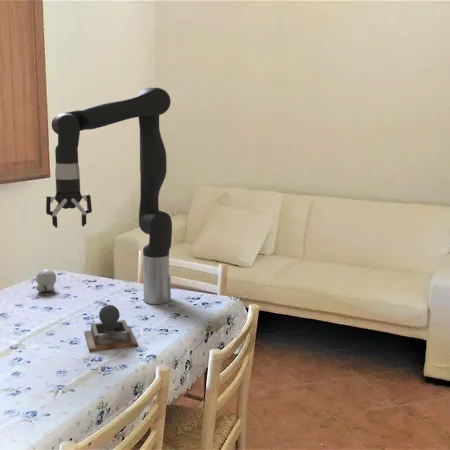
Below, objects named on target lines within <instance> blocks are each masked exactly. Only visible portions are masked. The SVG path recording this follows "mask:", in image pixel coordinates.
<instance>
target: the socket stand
mask: <svg viewBox="0 0 450 450" xmlns="http://www.w3.org/2000/svg"><path fill="white" fill-rule="evenodd" d="M83 333H84V337H85V341H86V344H87V347H88V352H89V353H93V352H100V351H110V350H119V349H127V348H136V347H139V343H138V341H137V338H136V336H135V334H134V332H133V331H132V328H131V326H128V324H127V322H126V320H125V319H120V320H119V319H118V321H117V322H116V325H115V329H114V332H112V333H105V329H104V325H103V323H102V322H101V321H99V322H91V323H90V330H85V331H84V332H83Z"/></svg>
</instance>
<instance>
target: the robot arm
mask: <svg viewBox="0 0 450 450" xmlns="http://www.w3.org/2000/svg"><path fill="white" fill-rule="evenodd" d="M170 106H171V96H170V95H169V93H168V92H167V91H166V90H165V89H163V88H160V87H145V88H143V89H141V90H140V92H139V93H138V95H137V96H136V97H133V98H129V99H124V100H123V99H122V100H118V101H110V102H105V103H102V104H96V105H92V106H88V107H86V108H83V109H78V110H72V111H67V112H63V113H59V114H56V115H55V116H54V117H53V119H52V121H51V129H52V131H53V132H54V133H55V134H57V145H56V146H55V150H54V152H55V153H54V154H55V158H54V159H55V168H54V170H55V171H54V174H55V175H54V176H55V195H49V194H47V195H46V196H45V198H46V200H45V202H46V203H45V213H46V215H47V216H48V215H49V216H51V218H52V219H51V220H52V226H53V227H54V228H58V216H57V215H58V214H59V213H60V211H61V210H62V209H65V210H67V209H76V208H77V209H78V210H79V212H80V213H81V215H80V216H81V217H80V219H81V226H82V227H85V225H87V215H88V214H92V212H93V208H92V197H91V195H90V194H89V193H86V194H82V192H81V178H80V177H81V175H80V165H79V151H78V150H79V149H78V148H79V143H80V134H81V132H82V131H86V130H87V131H88V130H95V129H99V128H102V127H106V126H109V125H110V126H111V125H113V124H116V123H119V122H124V121H127V120H130V119H135V118H138V124H139V125H138V126H139V172H140V173H139V174H140V179H139V180H140V183H139V184H140V187H139V188H140V196H139V197H140V200H139V210H138V211H139V213H138V226H139V229H140V230H141V232H143V233H144V234H146V235H149V238H148V239H149V240H148V242H149V243H148V244H146V245H145V246H143V249H142V259H143V260H142V262H143V263H142V264H143V267H142V268H143V271H142V272H143V277H142V278H143V301H144V303H146V304H149V305H163V304H166V303H168V302H172V300H171V295H172V294H171V292H172V291H171V290H172V289H171V288H172V287H171V286H172V285H171V284H172V283H171V279H172V278H171V275H170V248H171V247H172V236H173V221H172V218H171V216H170V214H169V213H167V212H165V211H162V210H160V208H159V206H160V205H159V197H160V192H161V188H162V186H163V184H164V182H165V179H166V175H167V167H168V166H167V151H166V147H165V143H164V141H163V138H162V134H161V131H160V130H161V129H160V116H161V115H163V114H165V113H166V112H167V111H168V110H169V108H171V107H170ZM82 199H83V200H84V201H85V202H86V209H84V208H83V207H82V205H81V203H80V202H81V201H82ZM54 200H55V201H56V202H57V205H55V208H54V209H53V210H51V205H52V203H53V202H54Z"/></svg>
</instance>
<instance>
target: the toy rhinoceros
mask: <svg viewBox="0 0 450 450" xmlns="http://www.w3.org/2000/svg"><path fill="white" fill-rule="evenodd" d="M35 280H36V283H37V285H36V291H37V292H41V293H45V292H46V291H47V292H54V291H55V286H54V285H55V284H56V282H57V274H56V273H55V272H54V270H52V269H49V268H44V269H41V270H40V271H38V273H37V275H36V278H35Z"/></svg>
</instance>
